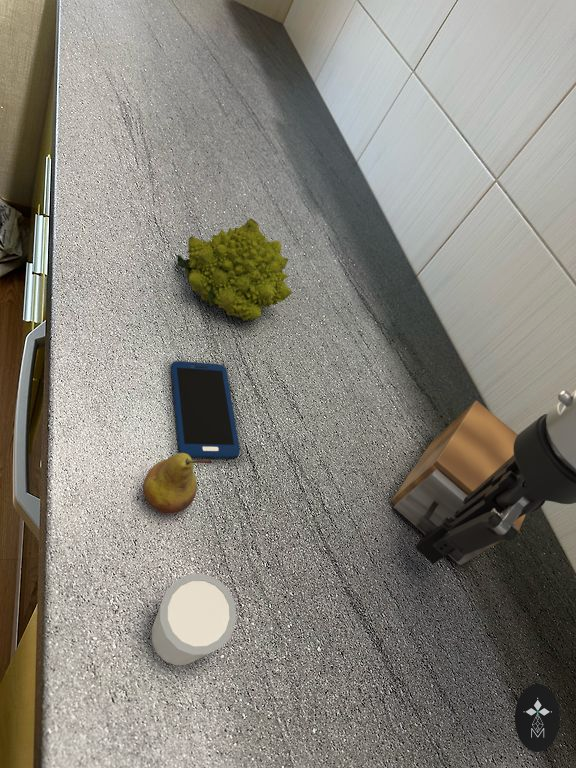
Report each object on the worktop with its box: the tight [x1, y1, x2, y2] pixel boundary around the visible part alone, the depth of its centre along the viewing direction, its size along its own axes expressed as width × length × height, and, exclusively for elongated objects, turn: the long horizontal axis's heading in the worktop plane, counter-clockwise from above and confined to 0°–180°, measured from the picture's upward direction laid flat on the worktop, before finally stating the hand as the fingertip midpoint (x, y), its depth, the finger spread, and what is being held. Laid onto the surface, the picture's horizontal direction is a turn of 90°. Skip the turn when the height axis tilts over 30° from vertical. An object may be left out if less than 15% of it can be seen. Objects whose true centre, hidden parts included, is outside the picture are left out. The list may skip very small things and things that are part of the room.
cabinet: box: [390, 400, 527, 565], centre depth 74 cm, size 14×12×11 cm
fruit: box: [142, 452, 213, 515], centre depth 58 cm, size 6×6×12 cm
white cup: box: [151, 573, 237, 666], centre depth 52 cm, size 7×7×7 cm
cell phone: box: [170, 360, 241, 459], centre depth 71 cm, size 7×14×1 cm, turn 11°
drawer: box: [393, 469, 499, 566], centre depth 71 cm, size 17×11×9 cm, turn 143°
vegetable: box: [176, 217, 293, 322], centre depth 82 cm, size 15×16×15 cm
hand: (425, 552), depth 66 cm, fingers closed
